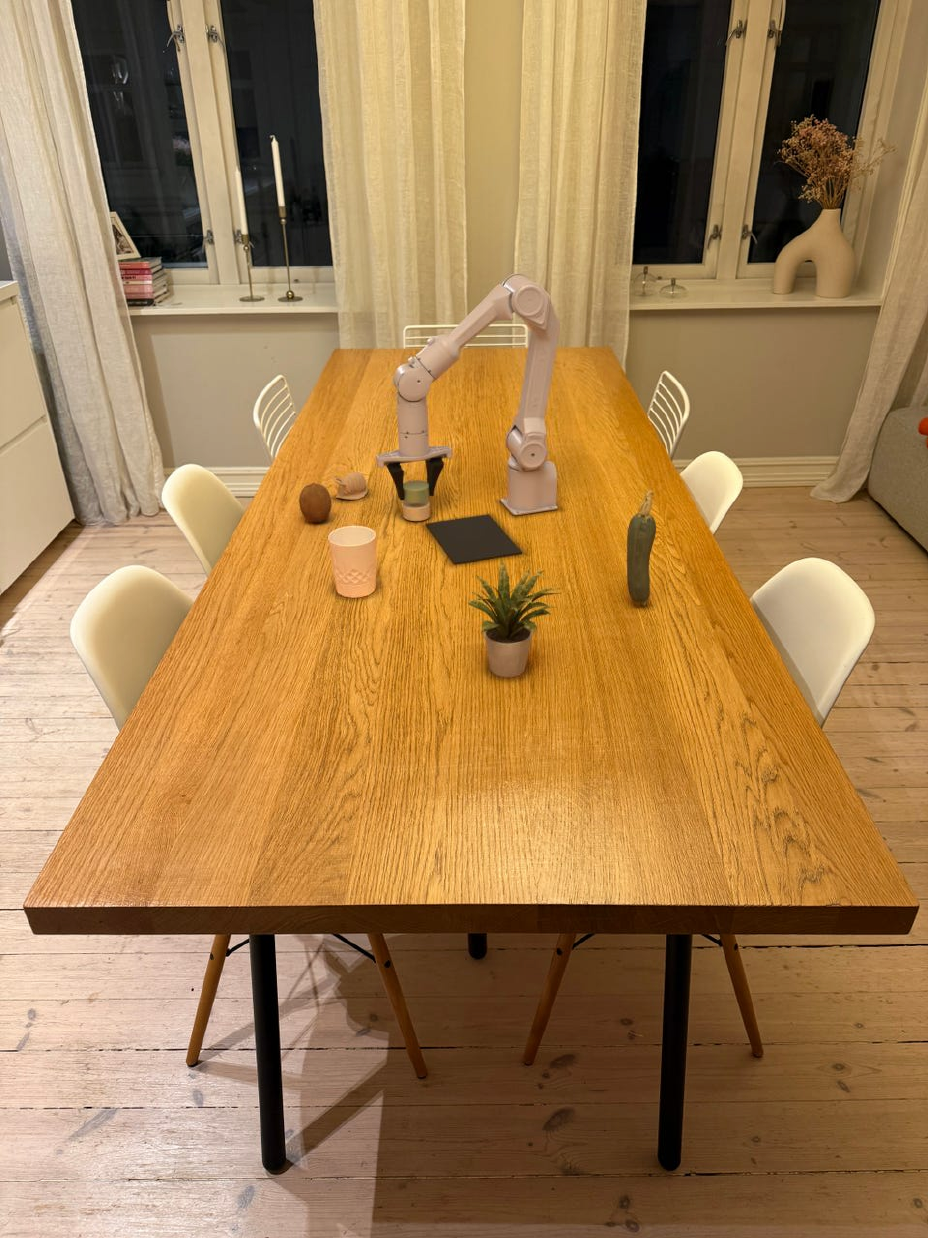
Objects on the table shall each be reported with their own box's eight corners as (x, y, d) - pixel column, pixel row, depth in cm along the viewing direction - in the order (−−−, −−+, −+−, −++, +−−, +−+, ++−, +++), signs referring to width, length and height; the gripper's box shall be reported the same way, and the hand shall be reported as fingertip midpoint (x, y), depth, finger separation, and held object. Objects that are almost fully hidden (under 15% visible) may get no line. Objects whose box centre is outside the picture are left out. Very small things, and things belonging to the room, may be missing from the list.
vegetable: (632, 613, 155) (641, 498, 145) (616, 602, 158) (624, 489, 148) (654, 607, 156) (665, 492, 146) (638, 596, 160) (648, 483, 150)
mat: (488, 515, 189) (488, 514, 189) (522, 553, 174) (522, 551, 174) (425, 525, 185) (425, 523, 185) (454, 564, 171) (454, 562, 170)
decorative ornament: (373, 494, 199) (371, 470, 196) (339, 505, 195) (337, 480, 192) (362, 489, 202) (360, 465, 199) (328, 499, 197) (326, 474, 195)
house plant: (524, 711, 132) (527, 607, 123) (440, 682, 138) (437, 582, 130) (571, 663, 142) (576, 564, 134) (490, 638, 148) (491, 543, 140)
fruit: (339, 520, 188) (336, 482, 184) (314, 530, 184) (311, 492, 180) (319, 512, 192) (315, 474, 188) (294, 522, 188) (290, 483, 184)
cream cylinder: (426, 509, 192) (425, 496, 191) (433, 520, 188) (433, 506, 186) (399, 513, 191) (399, 499, 189) (407, 524, 186) (406, 510, 185)
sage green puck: (425, 492, 190) (424, 478, 189) (433, 502, 186) (432, 488, 184) (399, 496, 189) (398, 482, 187) (406, 506, 184) (405, 492, 183)
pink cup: (386, 581, 165) (383, 528, 160) (367, 603, 159) (364, 548, 154) (345, 575, 168) (340, 523, 163) (324, 596, 161) (319, 542, 156)
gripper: (443, 418, 185) (445, 484, 192) (370, 427, 182) (375, 494, 188) (454, 429, 180) (456, 497, 186) (379, 439, 176) (383, 507, 183)
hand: (416, 496), depth 187 cm, fingers closed on sage green puck, 5 cm apart
